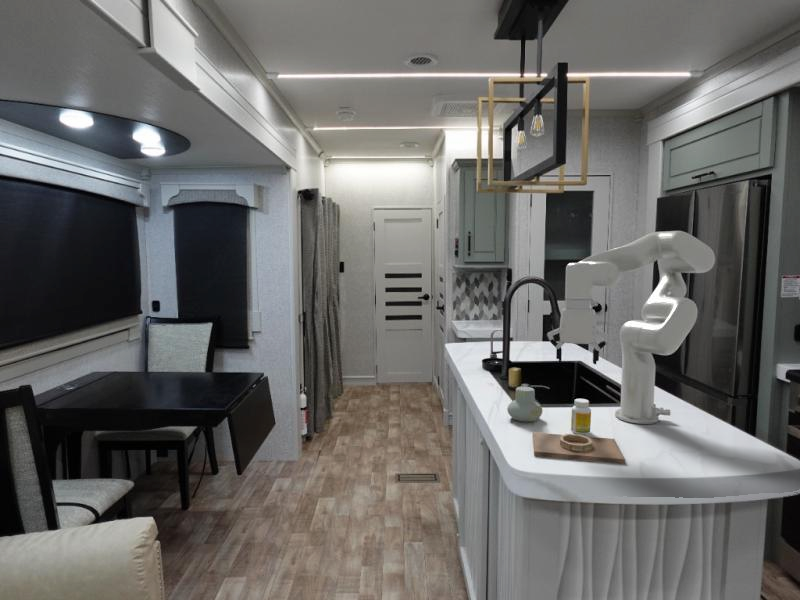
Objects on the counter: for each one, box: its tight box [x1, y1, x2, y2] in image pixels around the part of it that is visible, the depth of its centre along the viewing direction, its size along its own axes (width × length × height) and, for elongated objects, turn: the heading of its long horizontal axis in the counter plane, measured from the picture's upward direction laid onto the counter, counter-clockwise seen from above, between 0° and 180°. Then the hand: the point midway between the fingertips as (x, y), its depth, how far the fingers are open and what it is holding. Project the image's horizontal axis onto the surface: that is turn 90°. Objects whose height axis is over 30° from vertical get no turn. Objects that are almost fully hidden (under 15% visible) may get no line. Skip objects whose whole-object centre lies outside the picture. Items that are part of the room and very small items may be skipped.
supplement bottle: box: [570, 398, 592, 436], centre depth 143 cm, size 5×5×10 cm
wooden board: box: [532, 432, 626, 465], centre depth 131 cm, size 22×14×3 cm, turn 76°
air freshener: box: [506, 386, 543, 423], centre depth 155 cm, size 11×8×10 cm
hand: (577, 362), depth 143 cm, fingers open, 9 cm apart
